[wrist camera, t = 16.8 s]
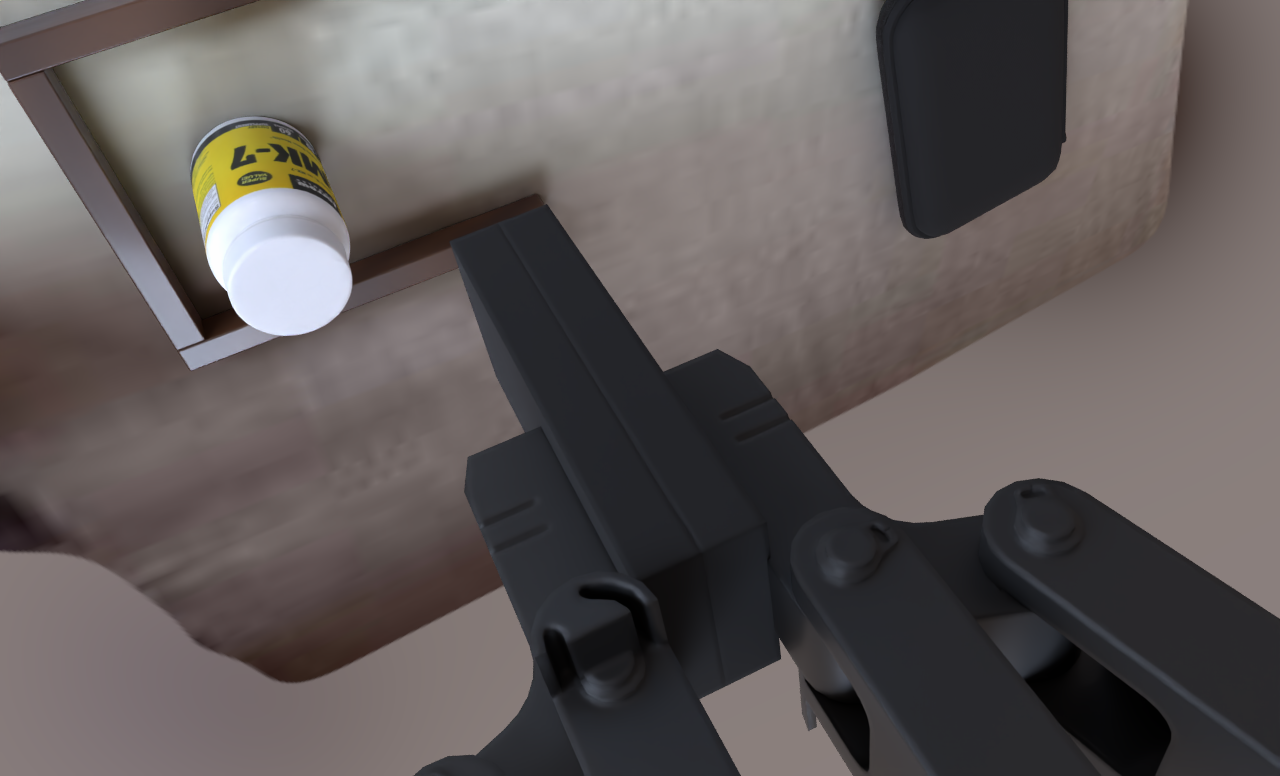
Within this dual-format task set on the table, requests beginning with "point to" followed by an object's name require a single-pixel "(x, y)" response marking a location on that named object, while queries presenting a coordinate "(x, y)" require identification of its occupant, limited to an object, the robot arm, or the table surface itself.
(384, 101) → the table surface
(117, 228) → the bay
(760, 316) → the table surface
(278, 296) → the supplement bottle
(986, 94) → the carrying case
